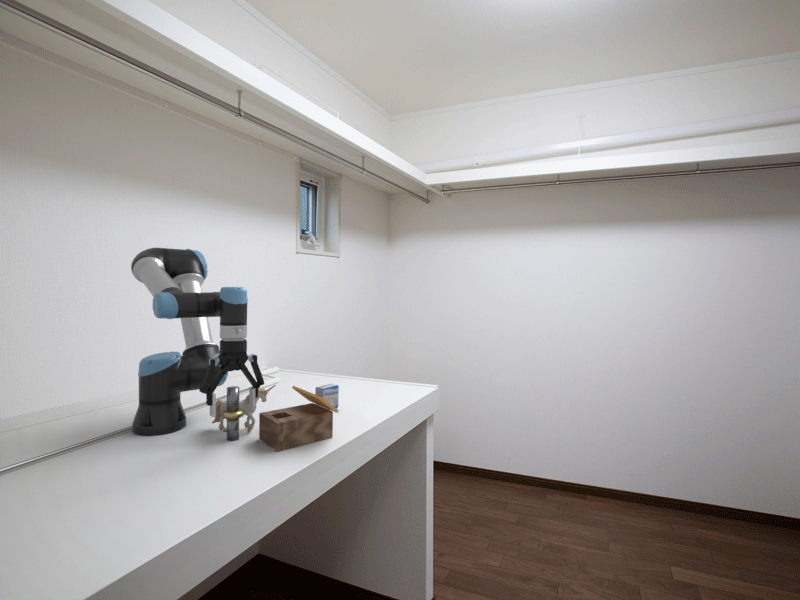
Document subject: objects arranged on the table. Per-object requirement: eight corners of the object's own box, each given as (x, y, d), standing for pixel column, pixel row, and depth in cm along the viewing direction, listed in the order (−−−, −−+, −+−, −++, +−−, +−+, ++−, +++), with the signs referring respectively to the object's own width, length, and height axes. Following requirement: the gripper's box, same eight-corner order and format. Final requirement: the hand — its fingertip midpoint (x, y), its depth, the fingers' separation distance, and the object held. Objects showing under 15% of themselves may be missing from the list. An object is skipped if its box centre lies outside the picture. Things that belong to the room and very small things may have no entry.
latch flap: (320, 399, 128) (321, 397, 129) (291, 387, 141) (293, 385, 141) (337, 413, 133) (338, 410, 133) (308, 400, 145) (310, 398, 146)
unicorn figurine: (275, 432, 139) (275, 389, 138) (208, 436, 134) (208, 392, 133) (275, 424, 146) (276, 384, 145) (212, 428, 141) (212, 386, 140)
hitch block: (277, 451, 123) (277, 423, 123) (259, 439, 132) (259, 412, 132) (332, 437, 135) (332, 411, 135) (312, 427, 144) (312, 403, 144)
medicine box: (323, 412, 161) (323, 388, 160) (314, 409, 163) (315, 386, 163) (338, 407, 167) (339, 384, 166) (330, 405, 170) (330, 383, 169)
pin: (226, 444, 127) (226, 391, 127) (218, 438, 132) (219, 387, 131) (246, 439, 131) (247, 388, 131) (238, 434, 136) (239, 384, 135)
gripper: (195, 343, 120) (195, 423, 121) (276, 337, 135) (275, 408, 136) (187, 340, 125) (186, 416, 126) (265, 335, 141) (265, 403, 142)
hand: (233, 412), depth 131 cm, fingers open, 11 cm apart
